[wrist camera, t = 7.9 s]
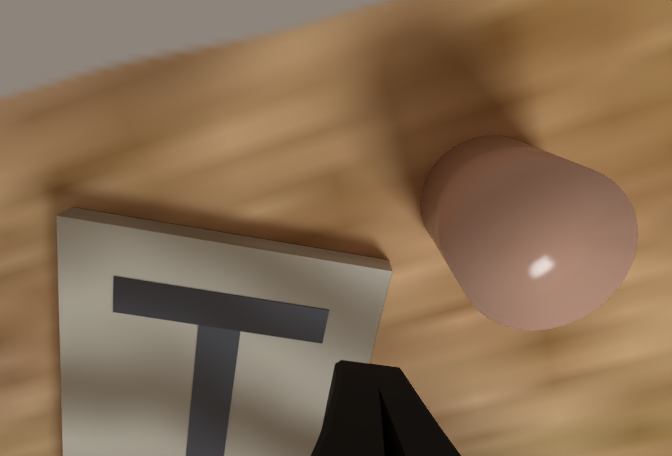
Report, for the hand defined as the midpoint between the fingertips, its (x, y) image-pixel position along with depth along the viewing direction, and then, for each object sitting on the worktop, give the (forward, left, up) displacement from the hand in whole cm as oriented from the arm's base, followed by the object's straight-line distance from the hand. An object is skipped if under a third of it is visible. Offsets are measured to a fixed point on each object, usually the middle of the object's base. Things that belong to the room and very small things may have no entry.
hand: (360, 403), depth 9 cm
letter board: (-8, +4, -8) cm, 12 cm away
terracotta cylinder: (+3, -5, -8) cm, 10 cm away
